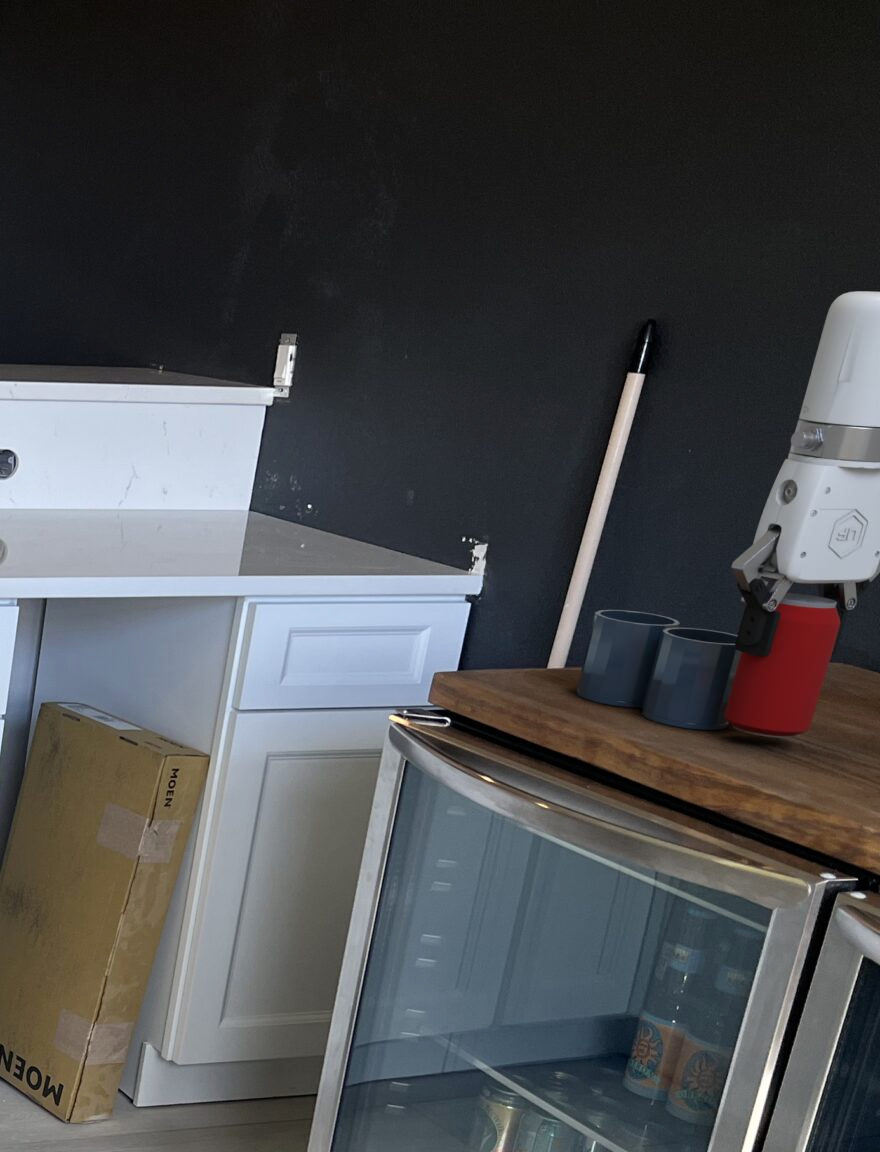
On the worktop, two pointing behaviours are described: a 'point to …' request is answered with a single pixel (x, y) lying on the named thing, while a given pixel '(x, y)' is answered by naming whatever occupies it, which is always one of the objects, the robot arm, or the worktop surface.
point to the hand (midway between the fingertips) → (784, 650)
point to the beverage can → (786, 671)
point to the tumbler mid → (692, 678)
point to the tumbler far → (621, 656)
